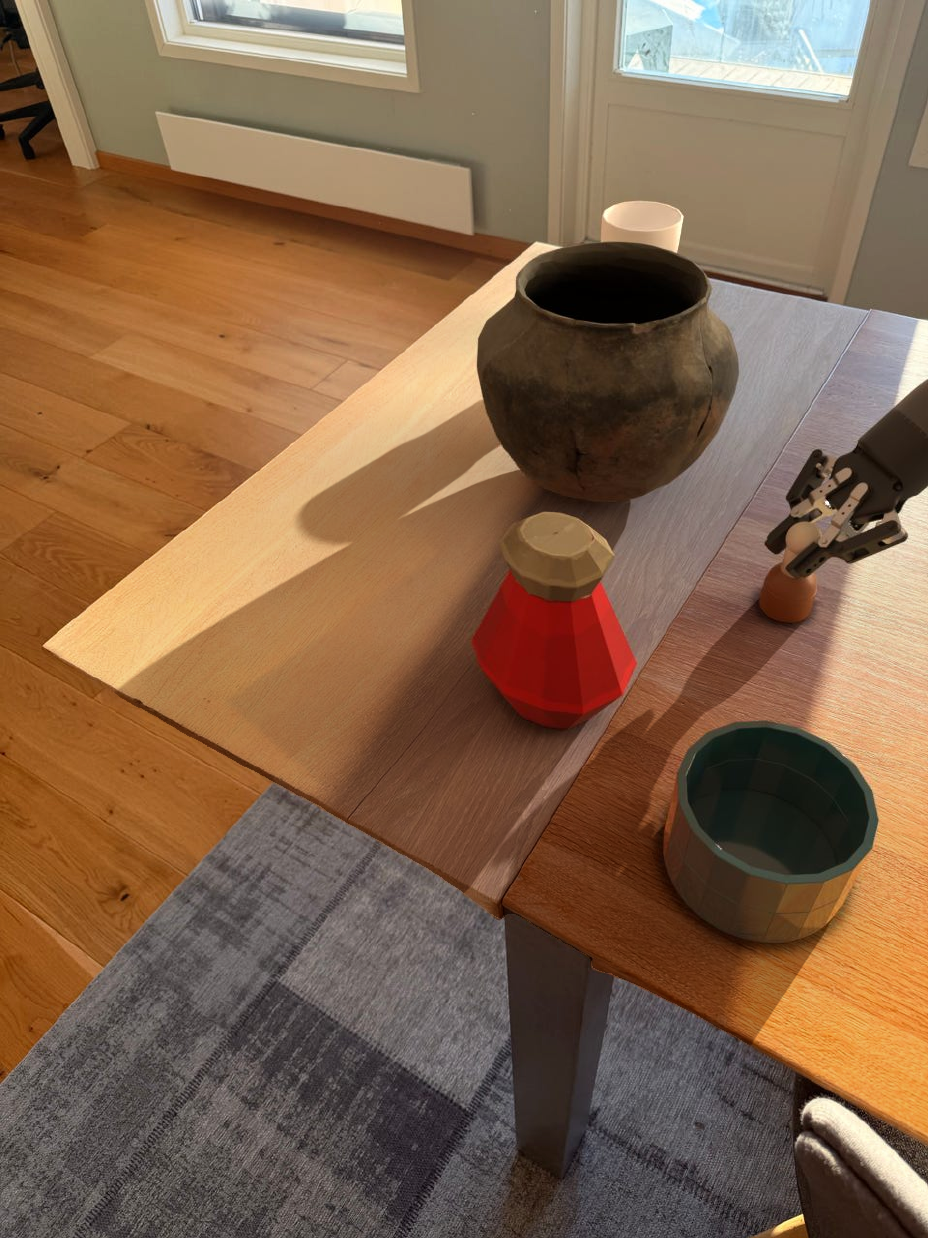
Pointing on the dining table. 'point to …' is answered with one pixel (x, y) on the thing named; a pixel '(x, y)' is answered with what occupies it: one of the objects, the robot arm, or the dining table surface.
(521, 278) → the pot
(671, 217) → the cup
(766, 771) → the bowl
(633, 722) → the dining table surface
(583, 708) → the bottle
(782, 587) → the drumstick
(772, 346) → the dining table surface
